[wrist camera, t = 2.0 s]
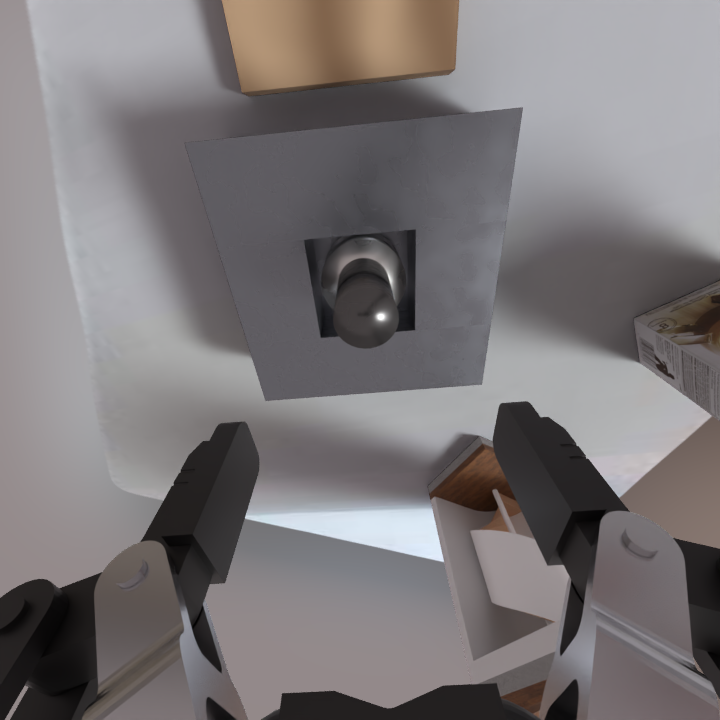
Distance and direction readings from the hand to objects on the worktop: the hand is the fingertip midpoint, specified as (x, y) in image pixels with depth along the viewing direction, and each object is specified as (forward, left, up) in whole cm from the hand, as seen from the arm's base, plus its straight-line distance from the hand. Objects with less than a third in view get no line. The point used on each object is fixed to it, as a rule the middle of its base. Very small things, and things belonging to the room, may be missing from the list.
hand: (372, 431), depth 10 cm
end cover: (0, 0, -18) cm, 18 cm away
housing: (0, 0, -20) cm, 20 cm away
